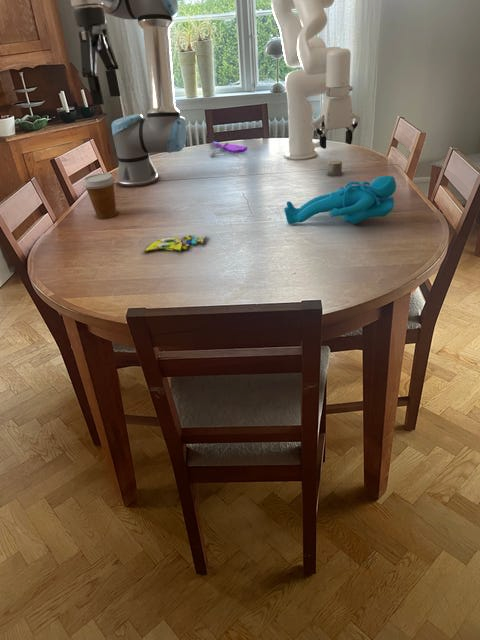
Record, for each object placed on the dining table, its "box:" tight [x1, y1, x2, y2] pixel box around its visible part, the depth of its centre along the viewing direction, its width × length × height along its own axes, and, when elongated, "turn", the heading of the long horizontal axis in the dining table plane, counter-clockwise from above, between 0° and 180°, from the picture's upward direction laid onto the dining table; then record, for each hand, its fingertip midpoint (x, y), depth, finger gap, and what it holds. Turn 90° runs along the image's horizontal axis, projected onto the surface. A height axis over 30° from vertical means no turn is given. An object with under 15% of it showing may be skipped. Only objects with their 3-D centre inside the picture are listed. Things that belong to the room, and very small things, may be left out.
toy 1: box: [144, 234, 207, 254], centre depth 130 cm, size 10×1×15 cm
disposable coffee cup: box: [83, 172, 117, 219], centre depth 152 cm, size 10×10×12 cm
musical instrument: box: [210, 141, 248, 157], centre depth 213 cm, size 24×2×20 cm
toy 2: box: [283, 175, 397, 225], centre depth 132 cm, size 17×11×30 cm
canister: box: [327, 159, 343, 177], centre depth 171 cm, size 5×5×4 cm
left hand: (107, 100), depth 131 cm, fingers open, 13 cm apart
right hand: (335, 145), depth 167 cm, fingers open, 9 cm apart
